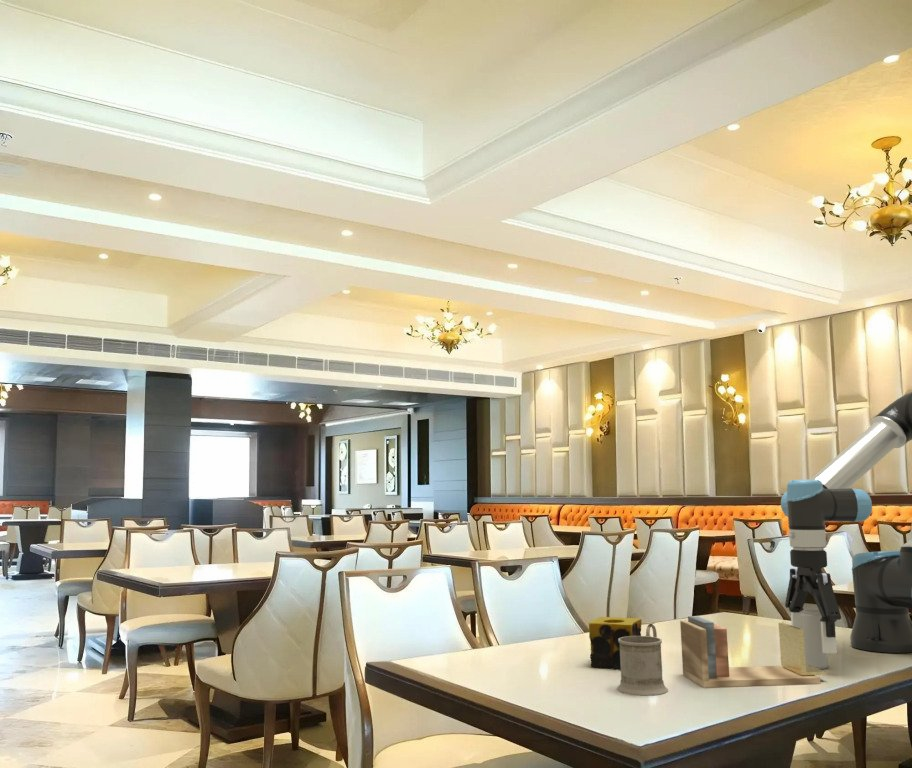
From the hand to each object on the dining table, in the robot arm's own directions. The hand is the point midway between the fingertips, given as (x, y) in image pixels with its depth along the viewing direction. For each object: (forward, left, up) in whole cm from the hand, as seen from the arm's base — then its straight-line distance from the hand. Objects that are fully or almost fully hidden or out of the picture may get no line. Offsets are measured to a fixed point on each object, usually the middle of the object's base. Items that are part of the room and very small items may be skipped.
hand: (813, 647), depth 180 cm
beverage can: (0, 0, -4) cm, 4 cm away
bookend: (+7, +9, -3) cm, 12 cm away
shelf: (+19, +9, -4) cm, 21 cm away
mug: (+42, +13, -5) cm, 44 cm away
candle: (+42, -9, -5) cm, 43 cm away
